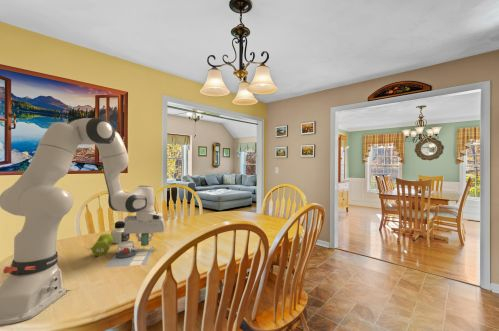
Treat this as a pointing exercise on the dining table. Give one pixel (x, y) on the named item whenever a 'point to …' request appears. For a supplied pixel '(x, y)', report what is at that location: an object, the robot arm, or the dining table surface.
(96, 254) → the dumbbell
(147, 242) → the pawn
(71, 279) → the dining table surface
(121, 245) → the dome
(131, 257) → the game board
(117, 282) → the dining table surface
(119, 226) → the medicine bottle
